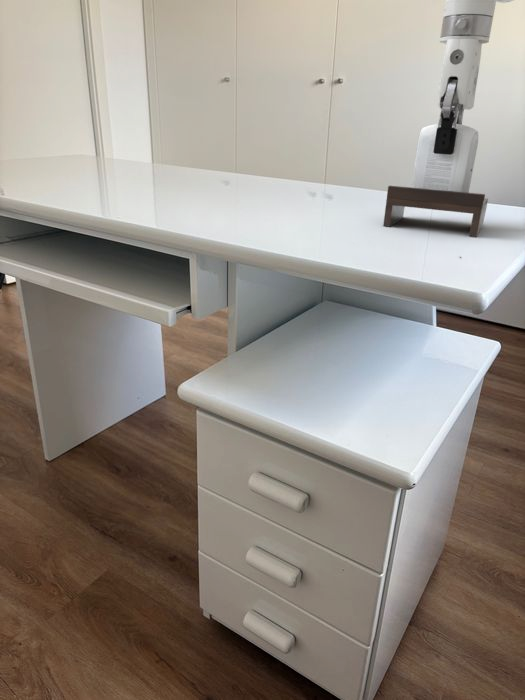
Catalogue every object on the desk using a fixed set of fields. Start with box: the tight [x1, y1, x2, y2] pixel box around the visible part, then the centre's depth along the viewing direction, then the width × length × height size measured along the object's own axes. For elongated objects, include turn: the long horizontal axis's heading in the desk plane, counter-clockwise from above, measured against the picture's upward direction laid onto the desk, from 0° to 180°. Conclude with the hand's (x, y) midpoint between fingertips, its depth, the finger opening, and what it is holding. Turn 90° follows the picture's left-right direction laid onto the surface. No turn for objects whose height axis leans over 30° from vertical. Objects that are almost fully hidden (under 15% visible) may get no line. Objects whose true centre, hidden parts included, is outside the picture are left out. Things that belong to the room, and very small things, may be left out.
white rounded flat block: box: [410, 123, 479, 193], centre depth 94 cm, size 10×4×12 cm, turn 52°
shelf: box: [382, 185, 489, 238], centre depth 97 cm, size 11×16×7 cm
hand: (445, 151), depth 93 cm, fingers closed on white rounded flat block, 4 cm apart
